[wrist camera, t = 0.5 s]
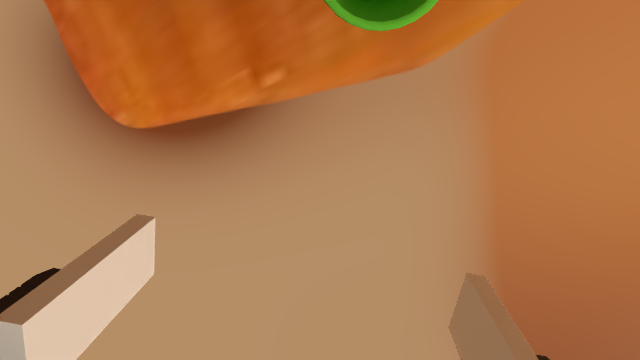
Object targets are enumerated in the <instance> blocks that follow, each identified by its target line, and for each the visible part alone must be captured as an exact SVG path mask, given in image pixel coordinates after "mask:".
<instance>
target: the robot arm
mask: <svg viewBox="0 0 640 360" xmlns="http://www.w3.org/2000/svg"><path fill="white" fill-rule="evenodd" d="M154 255H155V217H150V216H145V215H139V214H137V215H136V216H134V217H133V218H132V219H130V220H129V221H127V222H126V223H125V224H123V225H122V226H120V227H119V228H118V229H116V230H115V231H114V232H112V233H111V234H110V235H108V236H107V237H105V238H104V239H102V240H101V241H100V242H98V243H97V244H96V245H94V246H93V247H91V248H90V249H89V250H87V251H86V252H85V253H83V254H82V255H81V256H79V257H78V258H76V259H75V260H74V261H72V262H71V263H70V264H68V265H67V266H65V267H64V268H63V269H56V268H52V269H49V270H47V271H44V272H42V273H40V274H37V275H35V276H33V277H32V278H31V279H29V280H28V281H26V282H25V283H23V284H22V285H21V287H17V288H16V289H15V290H13V291H11V292H10V293H9V295H6V296H4V297H3V298H1V299H0V360H76V359H77V358H78V357H79V356H80V355H81V354H82V352H83V351H84V350H85V349H86V348H87V347H88V346H89V345H90V344H91V342H92V341H93V340H94V339H95V338H96V337H97V336H98V335H99V334H100V333H101V332H102V330H103V329H104V328H105V327H106V326H107V325H108V324H109V323H110V321H112V319H113V318H114V317H115V316H116V315H117V314H118V313H119V312H120V311H121V309H123V307H124V306H125V305H126V304H127V303H128V302H129V301H130V300H131V299H132V298H133V296H134V295H135V294H136V293H137V292H138V291H139V290H140V289H141V288H142V287H143V285H144V284H145V283H146V282H147V281H148V280H149V279H150V278H151V277H152V276H153V275H154ZM449 329H450V332H451V334H452V337H453V340H454V342H455V345H456V348H457V350H458V353H459V355H460V358H461V360H550V359H548V358H547V357H546V356H541V355H535V353H534V352H533V350H532V349H531V347H530V345H529V344H528V342H527V341H526V339H525V338H524V336H523V335H522V333H521V331H520V330H519V328H518V327H517V325H516V324H515V322H514V320H513V319H512V317H511V316H510V314H509V313H508V311H507V310H506V308H505V306H504V305H503V303H502V302H501V300H500V299H499V297H498V296H497V294H496V293H495V291H494V289H493V288H492V286H491V285H490V283H489V282H488V280H487V278H486V277H485V276H481V275H475V274H470V273H466V276H465V279H464V282H463V285H462V289H461V292H460V295H459V298H458V301H457V304H456V307H455V310H454V313H453V316H452V319H451V322H450V325H449Z"/></svg>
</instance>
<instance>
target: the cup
mask: <svg viewBox="0 0 640 360" xmlns="http://www.w3.org/2000/svg"><path fill="white" fill-rule="evenodd" d="M324 1H325V3H326V4H327V5H328V6H329V7H330V8H331V9H332V10H333V12H334V13H335V14H336V15H337V16H339V17H340V18H342V19H343V20H345V21H346V22H348V23H349V24H351V25H354V26H356V27H359V28H362V29H365V30H375V31H386V30H391V29H397V28H400V27H403V26H405V25H407V24H409V23H412V22H414V21H416V20H417V19H418V18H420V17H421V16H422V15H424V14H425V13H427V12H428V11H429V10H430V9H431V8H432V7H433V6H434V5H435V4H436V3H437V1H438V0H324Z"/></svg>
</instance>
